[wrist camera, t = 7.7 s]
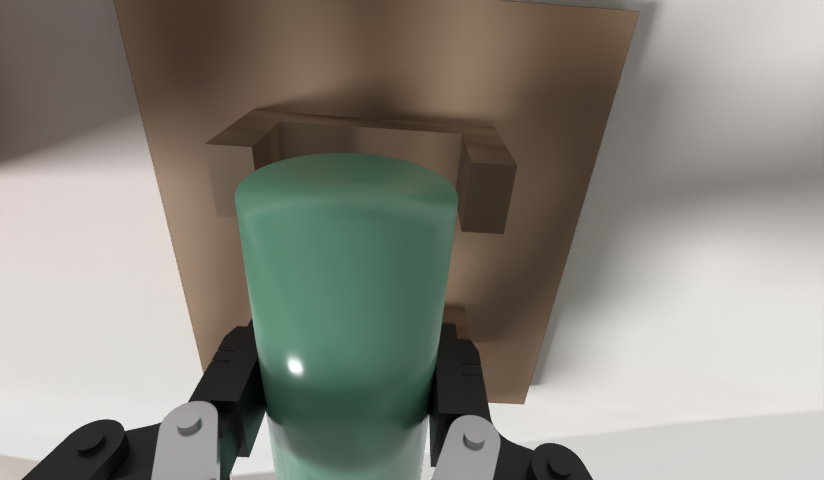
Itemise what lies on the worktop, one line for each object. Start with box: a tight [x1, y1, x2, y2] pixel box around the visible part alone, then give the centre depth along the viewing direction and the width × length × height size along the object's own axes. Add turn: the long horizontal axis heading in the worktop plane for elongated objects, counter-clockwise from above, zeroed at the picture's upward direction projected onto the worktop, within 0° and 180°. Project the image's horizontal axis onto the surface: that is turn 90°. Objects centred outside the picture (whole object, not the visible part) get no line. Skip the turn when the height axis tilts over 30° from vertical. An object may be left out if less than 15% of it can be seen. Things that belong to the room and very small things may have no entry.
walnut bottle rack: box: [113, 0, 639, 404], centre depth 18 cm, size 18×20×6 cm
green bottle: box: [235, 153, 459, 480], centre depth 14 cm, size 17×5×5 cm, turn 176°
